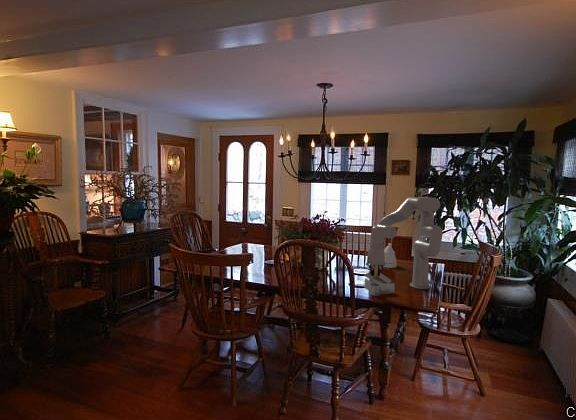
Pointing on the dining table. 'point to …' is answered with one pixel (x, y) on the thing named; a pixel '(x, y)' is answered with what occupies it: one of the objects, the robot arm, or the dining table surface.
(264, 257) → the dining table surface
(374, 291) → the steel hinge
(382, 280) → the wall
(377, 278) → the brass pin
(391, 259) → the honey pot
